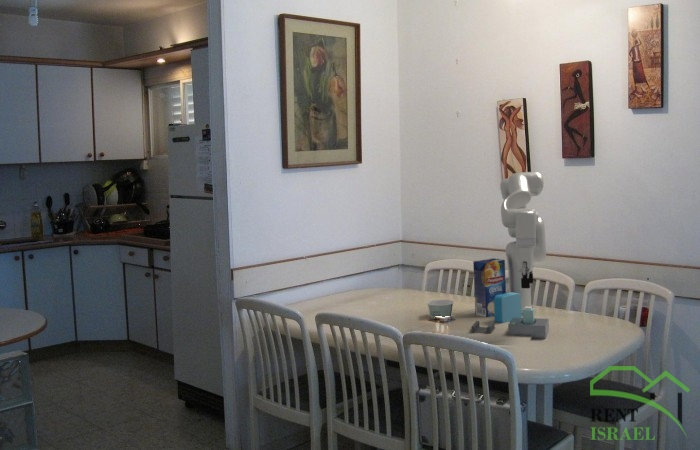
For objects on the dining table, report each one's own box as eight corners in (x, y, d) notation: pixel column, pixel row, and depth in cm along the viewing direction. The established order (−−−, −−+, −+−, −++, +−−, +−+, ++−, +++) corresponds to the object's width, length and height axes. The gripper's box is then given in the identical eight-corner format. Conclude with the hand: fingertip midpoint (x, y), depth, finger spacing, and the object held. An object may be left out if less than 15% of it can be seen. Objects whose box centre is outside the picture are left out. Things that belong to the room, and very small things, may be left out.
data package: (513, 319, 314) (512, 291, 313) (521, 320, 310) (521, 292, 309) (494, 324, 307) (493, 295, 306) (502, 325, 303) (501, 297, 302)
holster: (475, 329, 300) (475, 320, 299) (495, 329, 297) (495, 321, 296) (471, 335, 290) (470, 326, 290) (491, 335, 288) (490, 327, 287)
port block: (513, 329, 295) (512, 316, 295) (548, 331, 290) (548, 317, 290) (508, 337, 284) (508, 323, 284) (545, 338, 279) (545, 324, 278)
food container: (423, 318, 324) (422, 304, 323) (433, 312, 334) (432, 298, 334) (448, 320, 318) (448, 305, 318) (458, 314, 329) (457, 300, 328)
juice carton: (486, 317, 320) (484, 263, 318) (475, 314, 326) (473, 261, 324) (506, 312, 326) (504, 259, 324) (495, 310, 333) (493, 258, 330)
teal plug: (524, 332, 290) (523, 306, 289) (534, 333, 288) (533, 306, 287) (523, 335, 286) (522, 308, 285) (533, 335, 285) (532, 308, 284)
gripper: (519, 239, 293) (520, 281, 295) (512, 245, 277) (514, 290, 279) (538, 239, 290) (539, 281, 292) (533, 245, 274) (534, 290, 276)
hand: (527, 285), depth 286 cm, fingers open, 9 cm apart
